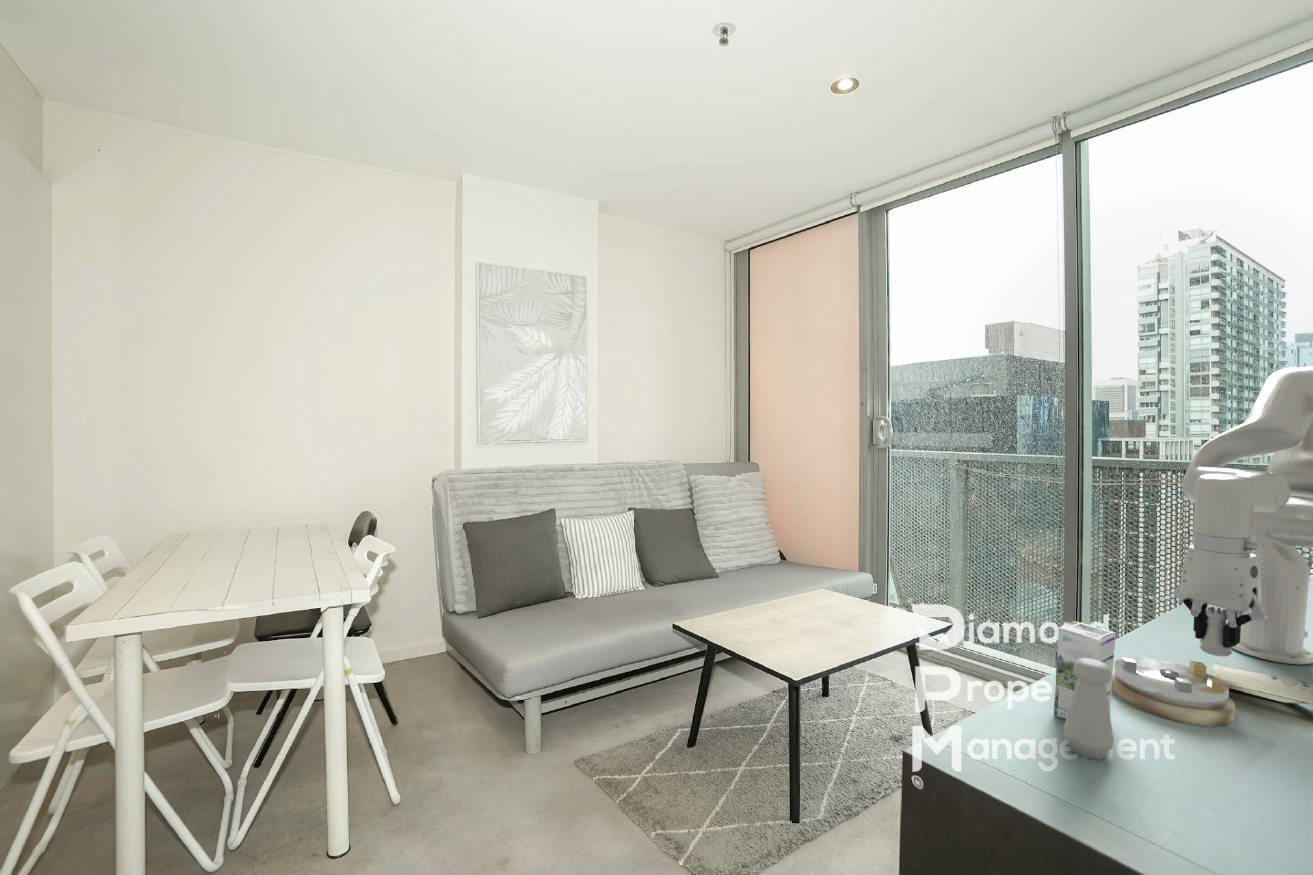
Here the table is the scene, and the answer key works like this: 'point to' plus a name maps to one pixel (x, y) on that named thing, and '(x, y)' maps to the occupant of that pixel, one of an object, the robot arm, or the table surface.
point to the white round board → (1172, 682)
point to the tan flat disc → (1174, 708)
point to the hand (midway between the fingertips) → (1215, 640)
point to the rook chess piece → (1215, 633)
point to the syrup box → (1075, 645)
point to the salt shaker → (1090, 711)
